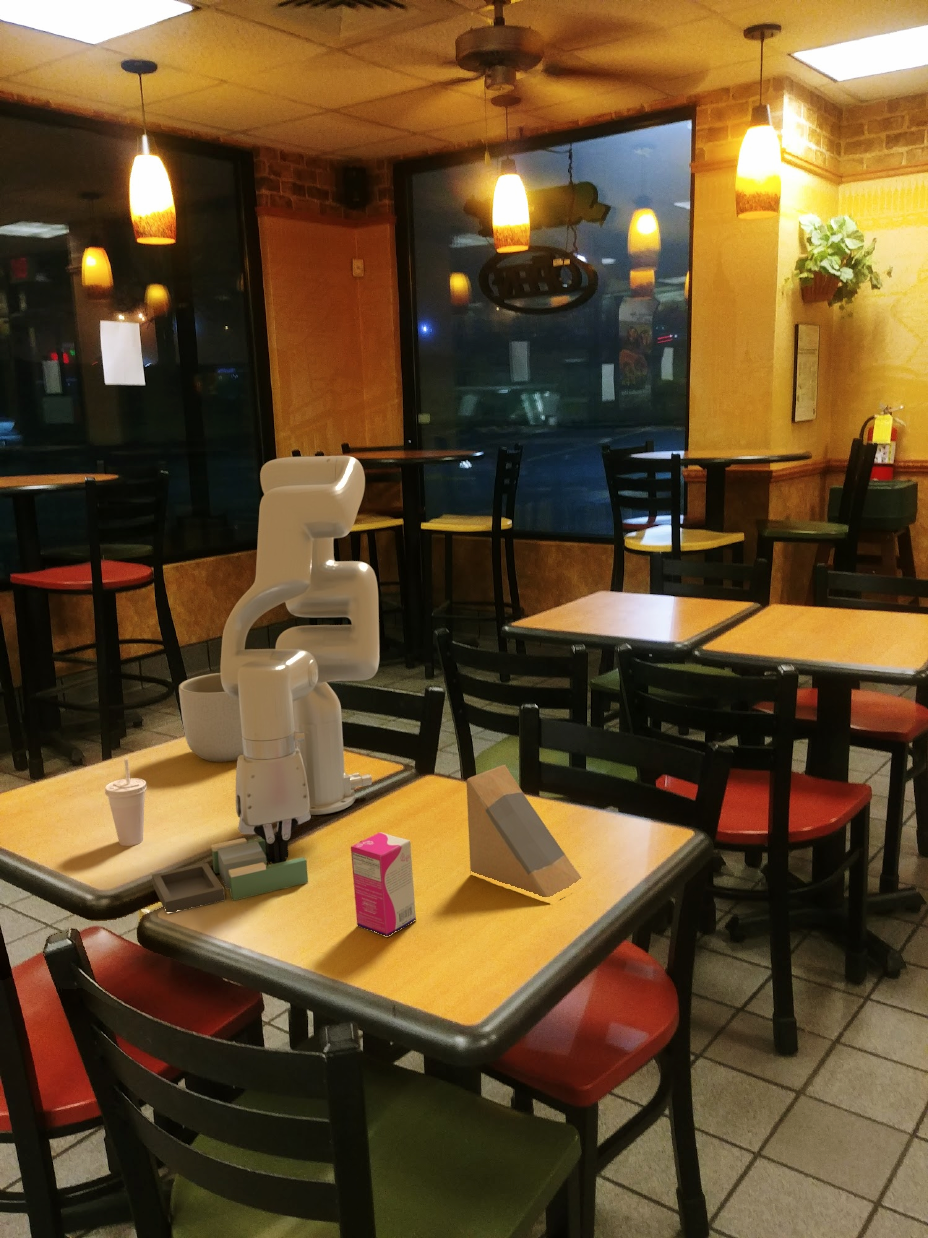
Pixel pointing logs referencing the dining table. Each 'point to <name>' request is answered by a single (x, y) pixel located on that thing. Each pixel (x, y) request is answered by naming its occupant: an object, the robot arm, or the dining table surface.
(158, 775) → the dining table surface
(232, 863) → the block
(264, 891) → the tunnel
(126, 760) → the smoothie
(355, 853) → the supplement box
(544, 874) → the sandwich container
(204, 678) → the planter
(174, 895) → the tray
